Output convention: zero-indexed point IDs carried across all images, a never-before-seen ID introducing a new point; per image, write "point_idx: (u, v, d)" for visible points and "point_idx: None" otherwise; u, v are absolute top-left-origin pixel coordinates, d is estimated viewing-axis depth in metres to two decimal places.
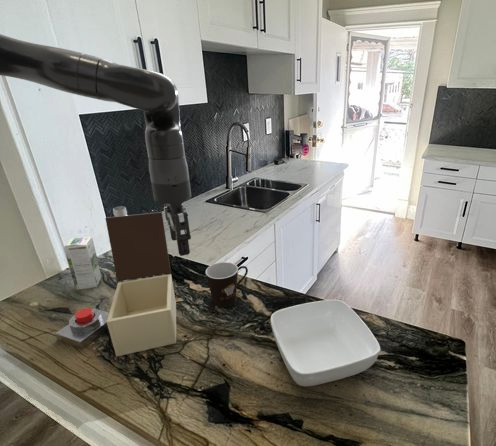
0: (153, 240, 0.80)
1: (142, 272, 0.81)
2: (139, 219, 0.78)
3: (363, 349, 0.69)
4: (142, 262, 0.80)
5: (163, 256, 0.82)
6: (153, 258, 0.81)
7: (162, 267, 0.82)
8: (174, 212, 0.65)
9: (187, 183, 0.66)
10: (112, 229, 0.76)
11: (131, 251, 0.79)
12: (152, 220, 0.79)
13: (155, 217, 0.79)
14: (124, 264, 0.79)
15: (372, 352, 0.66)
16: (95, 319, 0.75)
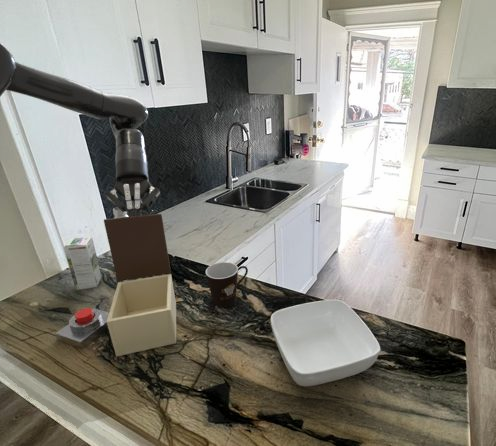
0: (153, 242, 0.79)
1: (142, 272, 0.81)
2: (138, 221, 0.76)
3: (363, 349, 0.69)
4: (142, 263, 0.80)
5: (163, 257, 0.81)
6: (153, 259, 0.80)
7: (162, 267, 0.82)
8: (149, 183, 0.82)
9: None
10: (111, 231, 0.75)
11: (131, 252, 0.78)
12: (151, 222, 0.77)
13: (155, 219, 0.77)
14: (123, 265, 0.78)
15: (372, 352, 0.66)
16: (95, 319, 0.75)
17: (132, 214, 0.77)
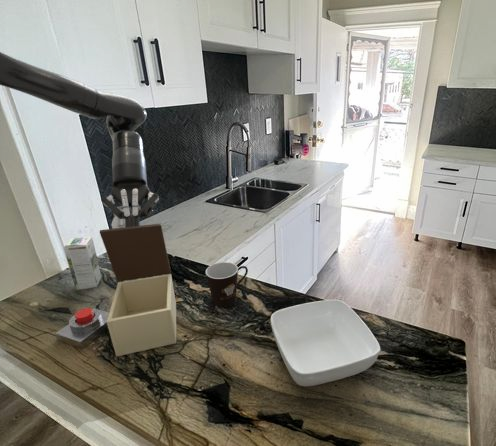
0: (152, 249, 0.77)
1: (142, 274, 0.80)
2: (137, 232, 0.72)
3: (363, 349, 0.69)
4: (142, 266, 0.79)
5: (163, 261, 0.80)
6: (153, 263, 0.79)
7: (162, 269, 0.81)
8: (148, 188, 0.78)
9: None
10: (108, 241, 0.71)
11: (130, 258, 0.76)
12: (151, 232, 0.74)
13: (154, 229, 0.73)
14: (123, 269, 0.77)
15: (372, 352, 0.66)
16: (95, 319, 0.75)
17: (130, 221, 0.73)
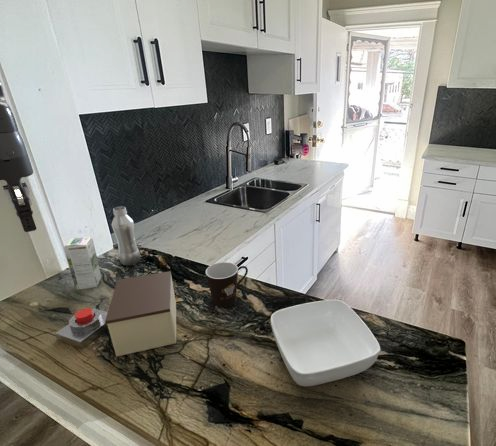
0: None
1: None
2: None
3: (363, 349, 0.69)
4: None
5: None
6: None
7: None
8: (11, 188, 0.64)
9: (24, 159, 0.66)
10: None
11: None
12: None
13: None
14: None
15: (372, 352, 0.66)
16: (95, 319, 0.75)
17: None
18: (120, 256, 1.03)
